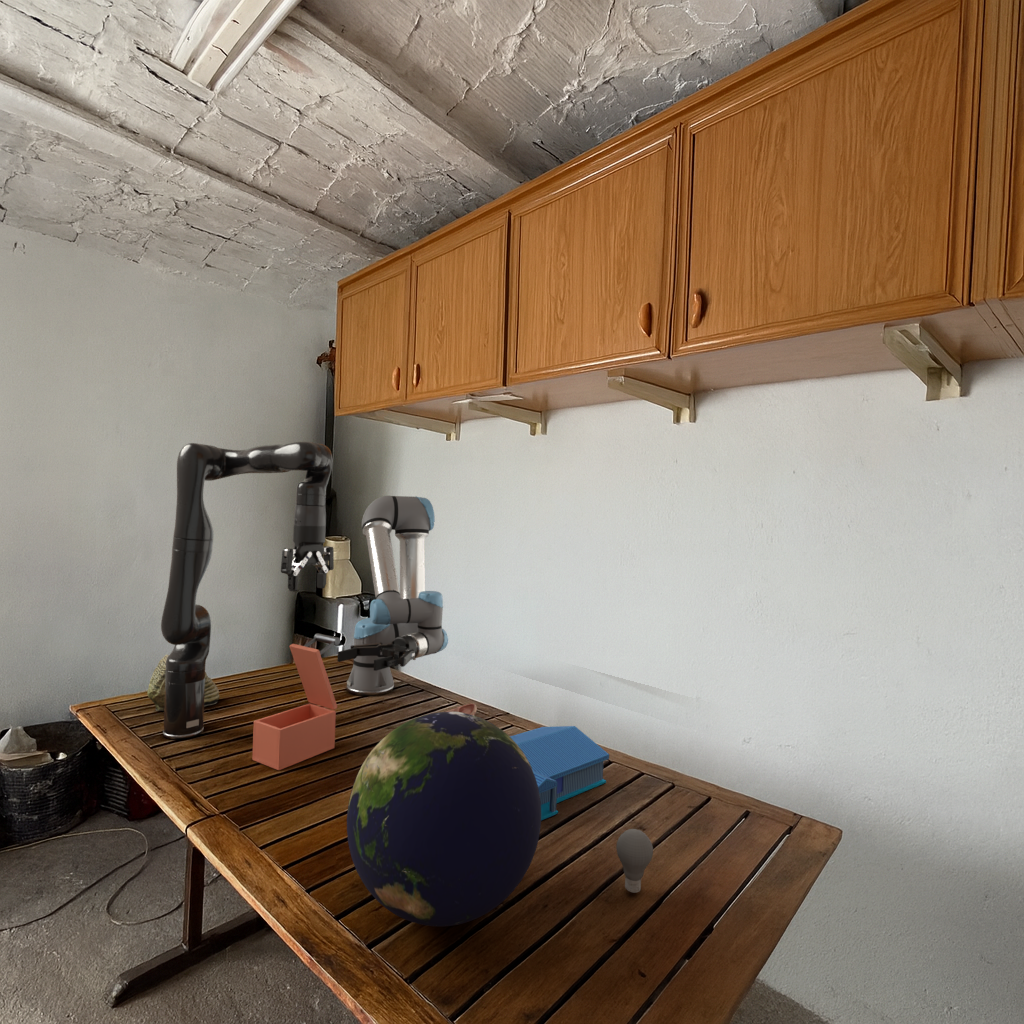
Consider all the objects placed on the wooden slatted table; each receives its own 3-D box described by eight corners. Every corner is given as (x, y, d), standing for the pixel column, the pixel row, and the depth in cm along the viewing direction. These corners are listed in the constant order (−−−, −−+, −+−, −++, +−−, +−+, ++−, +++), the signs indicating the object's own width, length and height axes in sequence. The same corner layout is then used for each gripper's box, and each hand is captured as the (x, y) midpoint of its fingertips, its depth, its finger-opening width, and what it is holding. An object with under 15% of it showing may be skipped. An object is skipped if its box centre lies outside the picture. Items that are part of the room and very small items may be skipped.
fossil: (144, 707, 182) (145, 655, 182) (212, 696, 194) (213, 647, 194) (151, 716, 175) (153, 662, 175) (221, 703, 188) (223, 653, 188)
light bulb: (610, 879, 108) (613, 822, 108) (644, 879, 109) (647, 822, 109) (619, 902, 102) (622, 840, 102) (655, 901, 103) (658, 840, 103)
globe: (299, 937, 91) (307, 730, 90) (409, 838, 119) (415, 679, 118) (489, 1009, 80) (499, 773, 79) (561, 881, 107) (569, 705, 107)
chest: (278, 770, 145) (280, 730, 145) (252, 759, 150) (253, 720, 150) (334, 748, 160) (335, 711, 159) (308, 738, 165) (309, 703, 165)
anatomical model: (424, 710, 178) (437, 698, 190) (423, 724, 179) (436, 711, 190) (469, 715, 176) (480, 702, 187) (469, 729, 176) (479, 716, 187)
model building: (485, 844, 118) (488, 791, 117) (412, 795, 136) (414, 749, 136) (617, 787, 144) (619, 743, 144) (541, 752, 162) (543, 713, 162)
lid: (315, 652, 153) (340, 633, 160) (289, 645, 158) (314, 627, 165) (334, 710, 159) (358, 689, 166) (308, 702, 164) (332, 682, 171)
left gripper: (296, 525, 148) (293, 594, 148) (342, 524, 160) (340, 588, 160) (275, 523, 151) (272, 590, 152) (321, 522, 164) (319, 585, 164)
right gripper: (441, 667, 183) (390, 683, 165) (377, 653, 196) (323, 666, 178) (442, 641, 183) (391, 654, 165) (378, 628, 196) (324, 640, 178)
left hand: (307, 589), depth 156 cm, fingers open, 8 cm apart
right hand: (356, 661), depth 171 cm, fingers open, 13 cm apart
